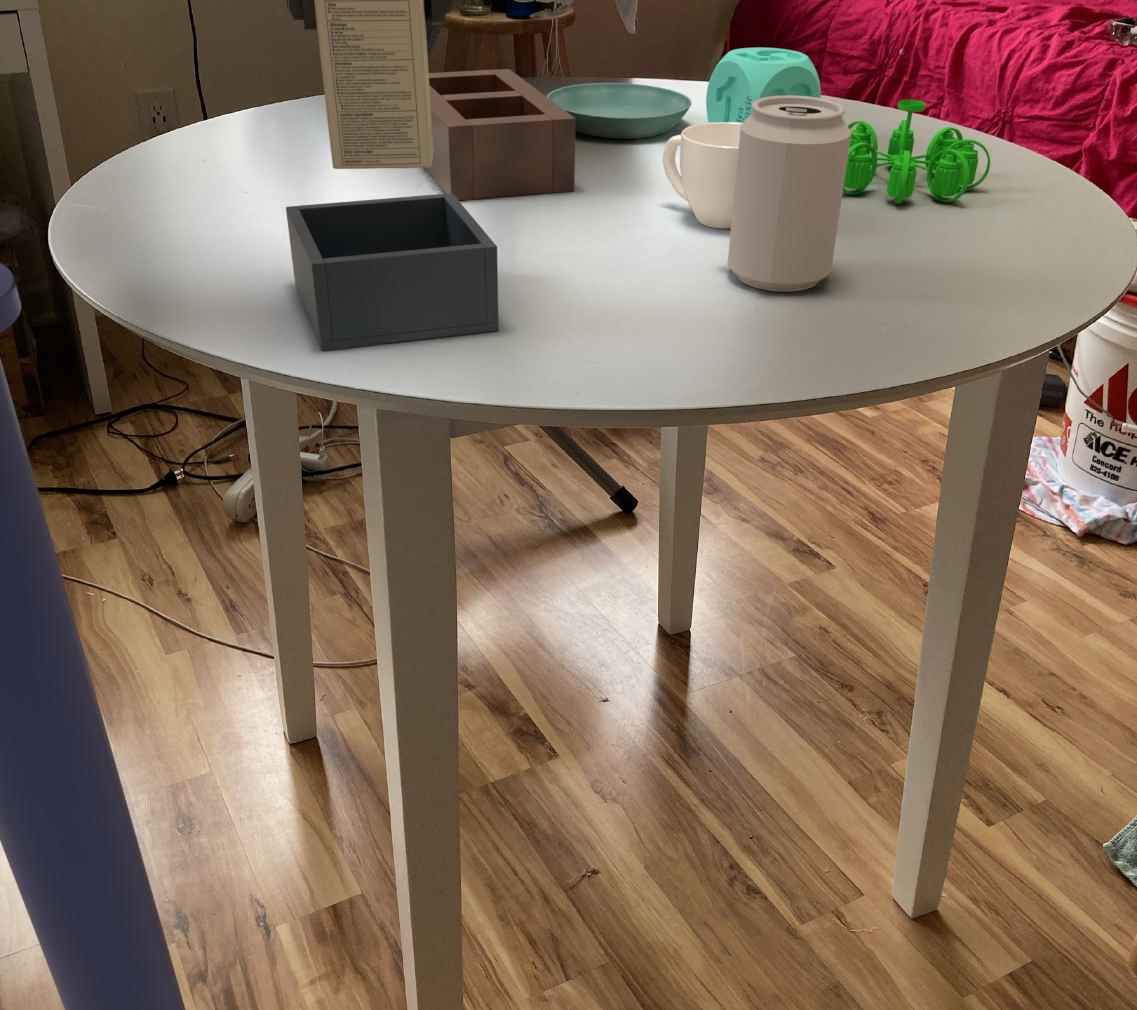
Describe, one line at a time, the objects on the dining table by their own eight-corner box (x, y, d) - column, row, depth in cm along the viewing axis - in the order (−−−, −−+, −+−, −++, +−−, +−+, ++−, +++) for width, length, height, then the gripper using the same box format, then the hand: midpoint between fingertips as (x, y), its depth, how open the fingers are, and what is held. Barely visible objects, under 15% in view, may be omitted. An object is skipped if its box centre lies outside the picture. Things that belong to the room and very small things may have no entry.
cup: (736, 242, 92) (745, 153, 88) (634, 215, 97) (638, 129, 93) (788, 219, 97) (799, 133, 93) (688, 194, 102) (694, 112, 98)
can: (835, 266, 88) (861, 95, 81) (821, 301, 82) (848, 120, 75) (736, 254, 90) (753, 86, 83) (716, 288, 84) (732, 110, 77)
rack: (451, 201, 100) (448, 126, 96) (401, 140, 115) (397, 74, 111) (574, 191, 102) (575, 118, 99) (510, 133, 118) (509, 68, 114)
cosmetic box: (434, 152, 77) (426, -64, 69) (432, 171, 73) (423, -54, 66) (333, 150, 76) (315, -67, 69) (327, 170, 73) (307, -57, 65)
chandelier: (896, 153, 114) (910, 76, 110) (1020, 194, 104) (1040, 111, 100) (778, 175, 107) (787, 94, 103) (898, 221, 97) (914, 133, 93)
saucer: (581, 150, 113) (582, 121, 111) (524, 115, 124) (524, 88, 122) (716, 137, 118) (718, 109, 116) (649, 104, 129) (650, 78, 127)
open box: (321, 351, 74) (311, 264, 71) (295, 286, 83) (285, 206, 80) (498, 330, 77) (497, 246, 74) (455, 270, 86) (452, 192, 83)
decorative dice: (701, 138, 117) (708, 51, 113) (766, 129, 121) (776, 44, 116) (748, 158, 112) (758, 67, 107) (815, 148, 115) (827, 60, 110)
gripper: (462, -322, 65) (472, 10, 75) (194, -332, 61) (241, 19, 71) (500, -329, 59) (505, 32, 69) (206, -340, 56) (255, 43, 65)
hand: (371, 24), depth 70 cm, fingers closed on cosmetic box, 7 cm apart
